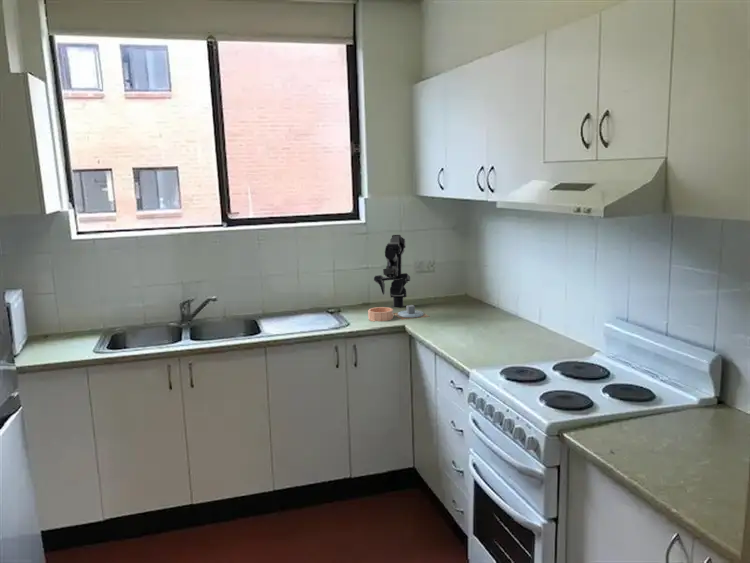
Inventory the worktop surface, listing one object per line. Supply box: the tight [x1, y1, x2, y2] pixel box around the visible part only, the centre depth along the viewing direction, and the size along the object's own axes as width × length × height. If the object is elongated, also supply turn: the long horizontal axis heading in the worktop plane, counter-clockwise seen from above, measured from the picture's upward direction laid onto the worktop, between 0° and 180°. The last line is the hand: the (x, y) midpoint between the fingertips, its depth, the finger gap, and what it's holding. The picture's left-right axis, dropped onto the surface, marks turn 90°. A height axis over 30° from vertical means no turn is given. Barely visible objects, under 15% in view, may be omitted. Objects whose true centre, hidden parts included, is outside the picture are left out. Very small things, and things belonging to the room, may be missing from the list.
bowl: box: [367, 306, 394, 322], centre depth 336 cm, size 13×13×5 cm
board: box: [393, 310, 430, 321], centre depth 341 cm, size 16×16×1 cm
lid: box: [397, 304, 425, 319], centre depth 340 cm, size 14×14×5 cm
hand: (391, 293), depth 331 cm, fingers open, 9 cm apart
